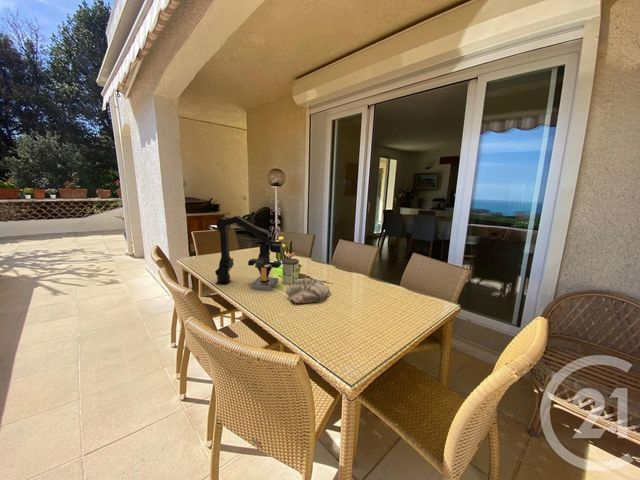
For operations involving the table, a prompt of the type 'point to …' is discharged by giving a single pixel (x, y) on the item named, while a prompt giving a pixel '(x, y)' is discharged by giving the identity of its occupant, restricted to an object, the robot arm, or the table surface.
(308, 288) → the seashell
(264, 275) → the tall orange box
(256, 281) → the rosette plate
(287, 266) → the coffee can
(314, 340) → the table surface
